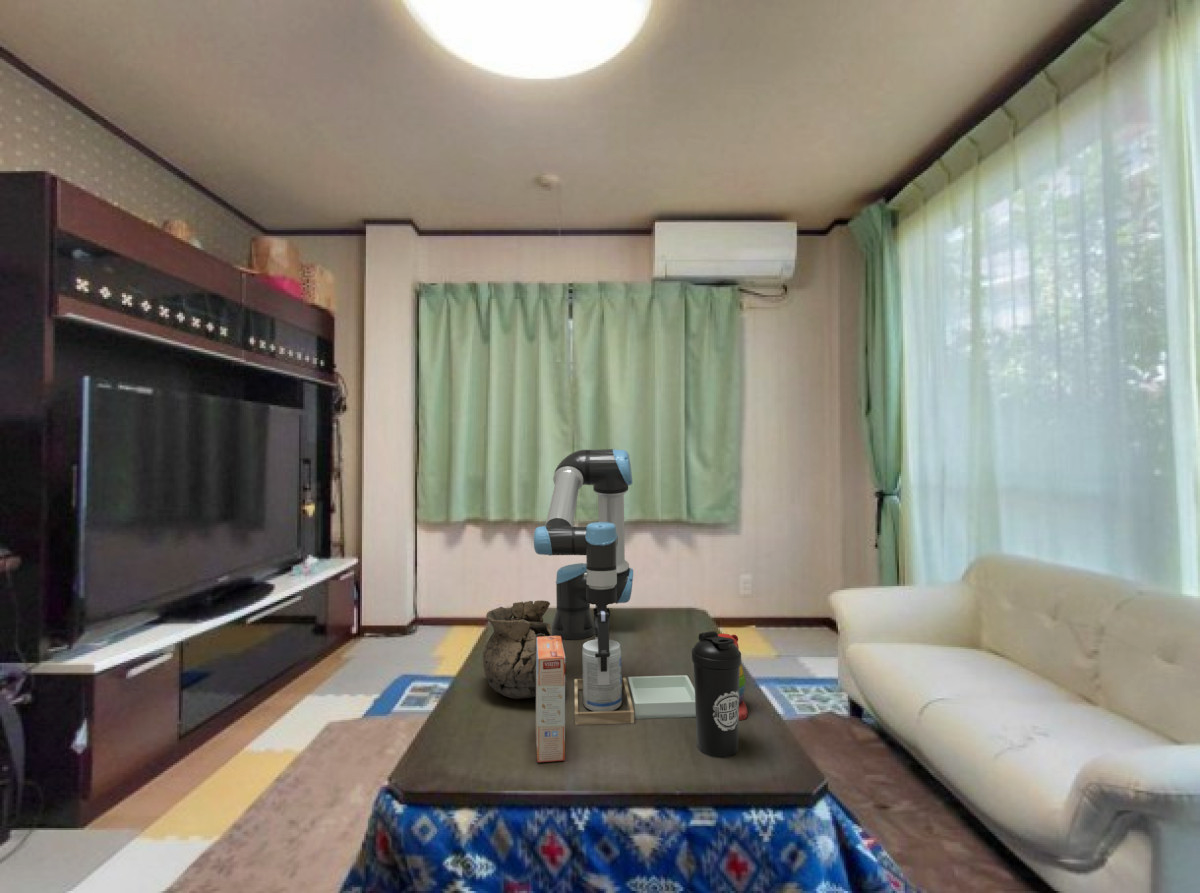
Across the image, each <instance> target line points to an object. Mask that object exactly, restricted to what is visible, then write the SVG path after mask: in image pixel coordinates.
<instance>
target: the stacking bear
mask: <svg viewBox="0 0 1200 893" xmlns="http://www.w3.org/2000/svg"><path fill="white" fill-rule="evenodd" d="M717 634H718V636H720V637H726V638H731V639H733V640H734V643H733V644H735V645H736V646H737V648H738V650H739V651H740V649H739V637H738V636H737V635H736V634H729V633H724V632H723V633H717ZM745 689H746V677H745V673H744V669H743V665H742V664H741V665H740V667H739V721H742V720H745V719H747V716H748V708H747V705H746V703H745V701H744V696H745V692H746V691H745Z"/></svg>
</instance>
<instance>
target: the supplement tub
mask: <svg viewBox="0 0 1200 893" xmlns="http://www.w3.org/2000/svg"><path fill="white" fill-rule="evenodd" d="M621 650H622V649H621V644H620V643H619V642H618V641H616V640H614V639H609V652H610V656H609V685H598V657H595V654H597V653H598V639H595V638H594V639H591V640H587V641H586V642H584V643H583V644H582V650H581V651H582V654H581V655H582V657H581V658H582V660H581V661H582V662H581V663H582V664H581V665H582V679H583V690H582V698H583V699H582V700H583V701H582V703H583V705H584V707H585V708H586V709H588V710H589V711H591V712H600V711H616V710H617V709H618V708H620V706H621V705H622V702H623V697H622V696H623V694H622V693H623V691H622V690H623V689H622V680H621V678H622V651H621ZM602 651H606V650H602Z"/></svg>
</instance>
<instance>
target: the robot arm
mask: <svg viewBox="0 0 1200 893" xmlns="http://www.w3.org/2000/svg"><path fill="white" fill-rule="evenodd" d="M553 474H554V475H553V478H552V479H553V483H554V488H553V491H552V495H551V501H550V504H549V509H548V513H547V516H546V522H545V525H543V526H537V527H536V528H535V530H534V534H533V547H534V548H533V549H534V552H535V553H536V554H537V555H543V556H585V557H586V558H585V559H586V563H583V562H582V563H574V564H568V565H564V566H561V567H560V568H558V569H557V572H556V580H555V584H556V588H555V590H556V595H555V596H556V610H555V611H556V612H555V615H554V618H553V622H552V625H551V635H552V636H561V639H562V640H581V639H586V638H589V637H592V636H595V637H594V640H595V639H598V653H597V654H595V657H598V685H609V656H610V652H609V640H610V633H609V632H610V631H609V629H610V618H611V610H610V608H609V607H608V606H609V605H612V604H616V605H617V604H625V603H629V602H630V600H631V598H632V597H631V596H632V592H633V581H634V580H633V579H634V569H633V568H631V567H630V563H629V562H628V561H627V560H626V559H625V558H626V557H625V553H626V552H625V551H626V550H625V495H626V493H627V492H629V486H631V485H633V474H632V465H631V459H630V454H629V453H628V451H627V450H625V449H615V448H610V449H608V448H606V449H604V448H603V449H578V450H577V451H574V452H572V453H570V454H568V455H567V456H566V457H564V458H562V460H561V461H560V463H558V465H557V466H556V469H555V470H554V473H553ZM582 486H593V492H594V493H595V494H596V495H597V496H598V497H597V505H598V506H597V507H598V508H597V510H598V522H591V523H588V524H587V525H586V526H574V520H575V515H576V510H577V509H576V508H577V504H578V496H579V491H580V489H581V488H582ZM591 605H595V608H593V609H592V612H591ZM592 613H593V614H592ZM592 615H593V616H592ZM602 650H606V651H602Z"/></svg>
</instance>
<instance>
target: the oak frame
mask: <svg viewBox="0 0 1200 893" xmlns="http://www.w3.org/2000/svg"><path fill="white" fill-rule="evenodd" d="M621 680H622V690H623V694H624V699H625V703H626V708H627V710H613V711H600V712H595V711H579V695H578V694H579V691H583V678H574V680H573V681H574V683H573V684H574V688H573V689H574V690H573V691H574V725H575V726H585V725H586V726H587V725H615V724H617V725H618V724H621V725H623V724H635V717H634V709H633V705H632V701H631V697H630V693H629V689H628V679H627V678H626V677H621Z"/></svg>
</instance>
